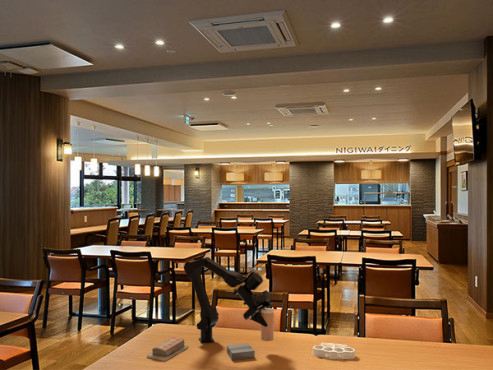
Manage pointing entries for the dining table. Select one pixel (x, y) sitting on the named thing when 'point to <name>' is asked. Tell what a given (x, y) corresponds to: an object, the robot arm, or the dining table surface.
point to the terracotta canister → (268, 331)
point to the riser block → (240, 351)
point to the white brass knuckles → (334, 351)
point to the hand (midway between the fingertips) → (270, 324)
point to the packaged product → (168, 349)
